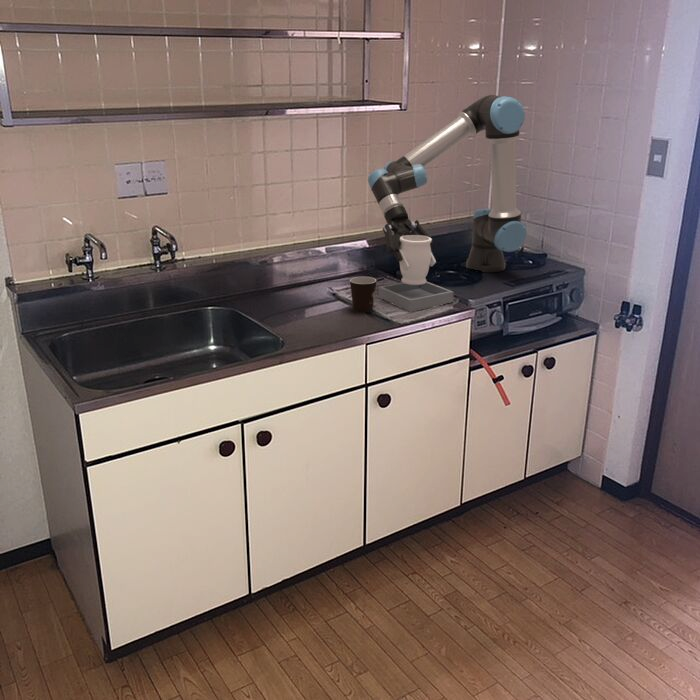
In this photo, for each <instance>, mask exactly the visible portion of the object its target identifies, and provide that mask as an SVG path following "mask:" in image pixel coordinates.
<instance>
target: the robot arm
mask: <svg viewBox="0 0 700 700" xmlns="http://www.w3.org/2000/svg"><path fill="white" fill-rule="evenodd" d="M525 117H526V114H525V109H524V106H523V105H522V103H520V101H519V100H518V99H516V98H513V97H512V96H511V97H510V96H508V95H506V96H505V95H495V94H489V95H485V96H483V97H480V98H479V99H478V100H476V101H474V102H473V103H471V104H470V105H469V106H467V107H465V108H464V109H463V110H461V111H460V112H459V114H458V117H456V118H455V119H453V120H452V121H451V122H450V123H448V124H447V125H445V126H444V127H442V128H441V129H439V131H437V132H436V133H435V132H434V134H432V135H431V136H430V137H428V138H427V139H426V140H424V141H423V142H421V143H419V145H417V146H416V147H414V148H413V149H411V150H410V151H409V152H408V153H406V154H404V155H403V156H401V157H400V158H399V159H397V160H393V161H392V160H391V161H389V162H387V163H386V164H385V165H384V168H378V169H376V170H374V171H373V172H371V173H370V174H369V175H368V177H367V178H368V179H367V182H368V183H367V184H368V185H369V187H370V190H371V192H372V194H373V196H374V198H375V199H376V202H377V204H378V207H379V208H380V210H381V213H382V215H383V216H384V219H385V221H386V224H385V225H384V226H383V227H382V232H383V234H384V237H385V238H384V239H385V244H386V250H387V251H386V252H387V253H388V254H391V255H392V256H395V259H396V260H397V262H399V261H400V262H399V264H400V263H401V265H402V268H403V270H404V271H406V270H407V269H408V268H409V267H410V266H409V264H408V262H407V260H406V258H405V255H404V253H403V251H402V250H400V245H401V242H400V237H402V236H406V235H422V236H427V237H430V235H429V234H428V233H427V232H426V230H424V228H423V227H422V226H421V223H420V222H419V220H418V219H416V220H415V221H411V220H410V218H409V214H408V212H407V210H406V208H405V206H404V204H403V201H402V199H401V197H400V194H402V193H405V192H408V191H412V190H415V189H419V188H420V187H423V186H425V185H427V182H428V175H427V171H426V169H425V167H426V166H429V164H431V163H432V162H434V161H435V160H436V159H437V158H439V157H440V156H442V155H443V154H445V153H447V152H448V151H449V150H451V149H452V148H453V147H455V146H456V145H458V144H459V143H461V142H462V141H463V140H465V139H466V138H468V137H469V136H476V135H477V134H478V133H480V132H482V131H485V139H486V140H487V141H488V142H489V144H490V148H489V149H490V173H491V174H490V177H491V181H490V182H491V202H492V203H491V208H490V207H489V208H477V209H476V210H474V212H473V217H472V220H473V221H472V238H471V239H472V240H471V248H470V251H469V255H468V258H466V263H465V267H466V269H468V268H470V269H475V270H481V271H482V272H481V273H498V272H502V271H504V270H505V269H506V260H505V256H504V252H508V253H511V252H514V251H516V250H519V249H520V248H521V247H522V245H523V244H524V243H525V241H526V238H527V227H526V226H525V225H524V224H523V223H522V214H521V213H522V212H521V211H520V210H519V209H518V208H517V174H516V171H517V169H516V140H517V139H518V138H519V137H520V129H521V127H523V125H524V123H525ZM392 232H393V234H392ZM433 244H434V240H433V239H432V241H431V243H430V247H431V246H432V245H433ZM435 264H437V261H436V258H435V256H434V251H433V249H432V248H431V261H430V265H429V267H433V266H434V265H435ZM470 269H469V270H470Z"/></svg>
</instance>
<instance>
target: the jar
mask: <svg viewBox="0 0 700 700" xmlns="http://www.w3.org/2000/svg"><path fill="white" fill-rule="evenodd" d="M432 240H433V238H431V236H429V237H427V236H422V235H402V236H400V246H399V250H402V251H403V253H404V255H405V258H406V260H407V262H408V264H409V266H410V267H409V268H408V269H407V270H406V271H404V270H403V268H402V265H401V263H400V261H399V268H400V269H399V270H400V273H401V275H402V277H401V283H402V282H403V283H405V284H410V285H421V284H424V283H426V282H428V281H427V278H426V277H427V276H428V273H429V269H430V261H431V249H432V247H431V246H430V243H431V241H432Z"/></svg>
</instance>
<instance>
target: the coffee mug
mask: <svg viewBox="0 0 700 700" xmlns="http://www.w3.org/2000/svg"><path fill="white" fill-rule="evenodd" d="M349 284H350V294H351V303H352V310H353V311H354V312H355V313H360V314H361V313H362V314H364V313H365V314H366V313H371V312H373V309H374V302H375V295H376V287H377V279H376V278H375V277H372V276H356V277H352V278H350V279H349Z"/></svg>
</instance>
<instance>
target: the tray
mask: <svg viewBox="0 0 700 700" xmlns="http://www.w3.org/2000/svg"><path fill="white" fill-rule="evenodd" d="M378 297H379V298H382V299H384V300H386V301H388V302H390V303H393V304H395V305H397V306H399V307H401V308H400V309H402V308H403V309H402V310H404V309H405V311H406V310H407V312H408V311H409V313H413V312H412V311H414V312H418V311H422V310H421V309H423V310H426V309H425V308H428V309H430V308H429V307H432V308H434V307H433V306H437V307H439V306H438V305H441V304H445V303H449V302H453V303H454V291H452V290H451V289H447V288H445V287H442V286H440V285H437V284H434V283H432V282H429V281H427V282H426V283H424V284H421V285H410V284H405V283H403V282H402V281H401V282H398V283H392V284H387V285H381V286H378ZM379 298H378V299H379ZM384 300H383V301H384ZM386 301H385V302H386ZM388 302H387V303H388ZM390 303H389V304H390ZM393 304H392V305H393ZM395 305H394V306H395ZM397 306H396V307H397ZM399 307H398V308H399ZM417 310H418V311H417Z"/></svg>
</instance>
